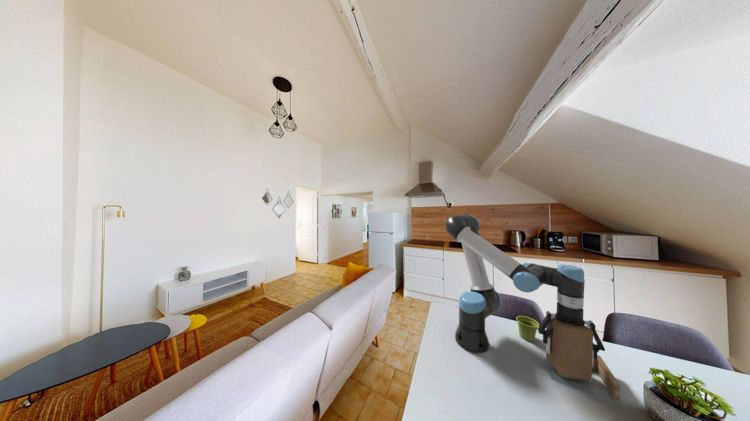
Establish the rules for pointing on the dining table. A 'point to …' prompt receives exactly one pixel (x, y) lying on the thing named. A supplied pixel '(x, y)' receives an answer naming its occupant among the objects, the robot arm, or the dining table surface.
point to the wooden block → (571, 350)
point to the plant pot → (527, 327)
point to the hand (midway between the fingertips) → (568, 357)
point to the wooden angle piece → (607, 377)
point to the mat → (569, 380)
